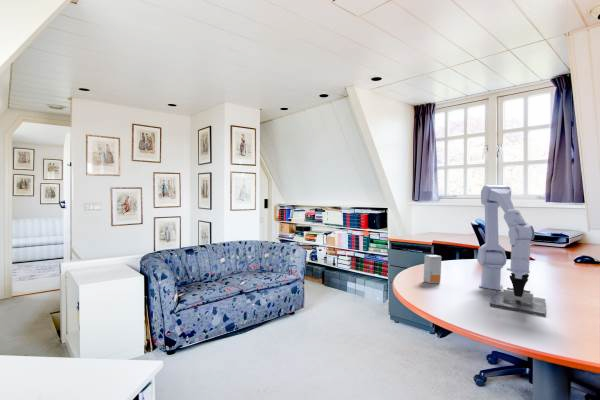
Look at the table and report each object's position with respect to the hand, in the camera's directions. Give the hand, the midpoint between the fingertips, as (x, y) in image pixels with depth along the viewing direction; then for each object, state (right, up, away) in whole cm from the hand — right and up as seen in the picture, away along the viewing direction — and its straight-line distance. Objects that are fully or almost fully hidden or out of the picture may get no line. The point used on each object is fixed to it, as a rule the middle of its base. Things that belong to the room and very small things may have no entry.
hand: (518, 294), depth 122 cm
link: (0, -2, 0) cm, 2 cm away
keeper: (0, -3, 0) cm, 3 cm away
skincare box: (-21, -3, +28) cm, 35 cm away
